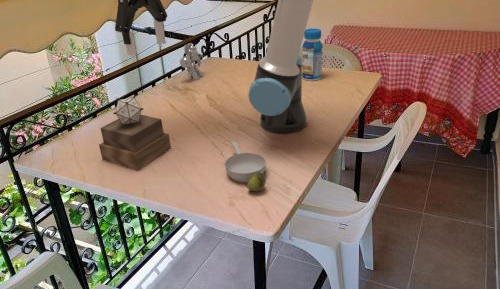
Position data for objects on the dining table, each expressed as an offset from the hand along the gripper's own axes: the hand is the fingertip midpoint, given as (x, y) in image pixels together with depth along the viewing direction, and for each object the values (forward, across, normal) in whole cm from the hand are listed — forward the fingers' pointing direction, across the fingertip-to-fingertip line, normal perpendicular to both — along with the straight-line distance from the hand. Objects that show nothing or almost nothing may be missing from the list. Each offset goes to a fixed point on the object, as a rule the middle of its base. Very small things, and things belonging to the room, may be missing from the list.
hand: (147, 49), depth 125 cm
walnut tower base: (+27, +15, +2) cm, 31 cm away
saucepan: (+28, +10, +35) cm, 46 cm away
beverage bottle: (+28, -67, +28) cm, 78 cm away
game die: (+18, +15, +3) cm, 23 cm away
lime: (+28, +18, +43) cm, 55 cm away
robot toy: (+27, -49, -20) cm, 60 cm away
